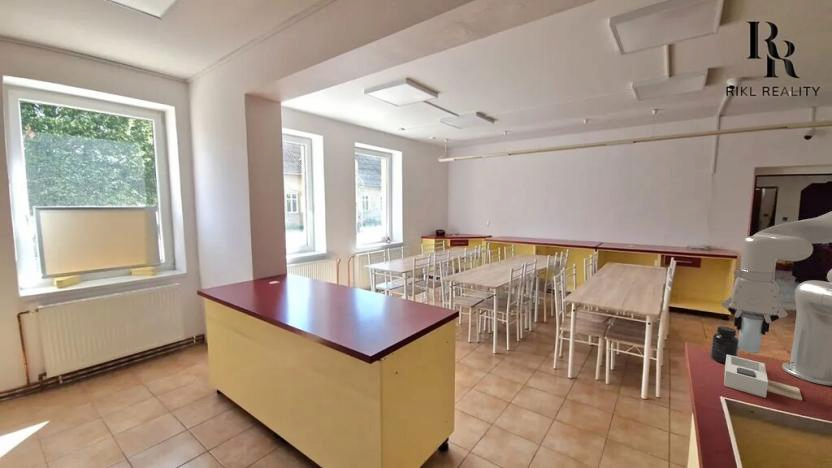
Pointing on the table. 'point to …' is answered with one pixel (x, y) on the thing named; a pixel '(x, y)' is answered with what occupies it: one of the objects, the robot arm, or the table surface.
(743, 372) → the plunger
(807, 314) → the robot arm
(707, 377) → the table surface
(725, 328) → the supplement bottle
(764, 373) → the box
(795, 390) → the oak pad
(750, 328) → the cylinder
